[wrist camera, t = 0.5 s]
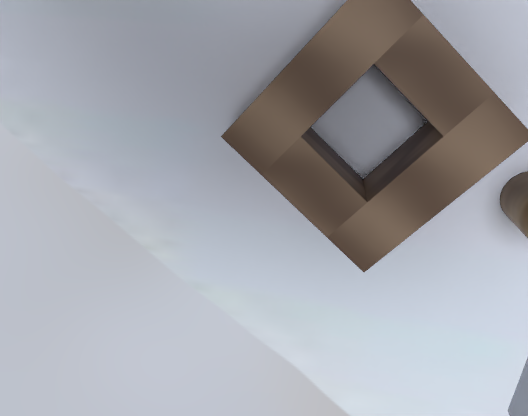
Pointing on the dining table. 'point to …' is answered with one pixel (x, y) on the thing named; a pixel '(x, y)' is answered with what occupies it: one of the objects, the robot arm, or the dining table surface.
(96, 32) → the dining table surface
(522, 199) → the short oak pin
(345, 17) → the walnut socket block
